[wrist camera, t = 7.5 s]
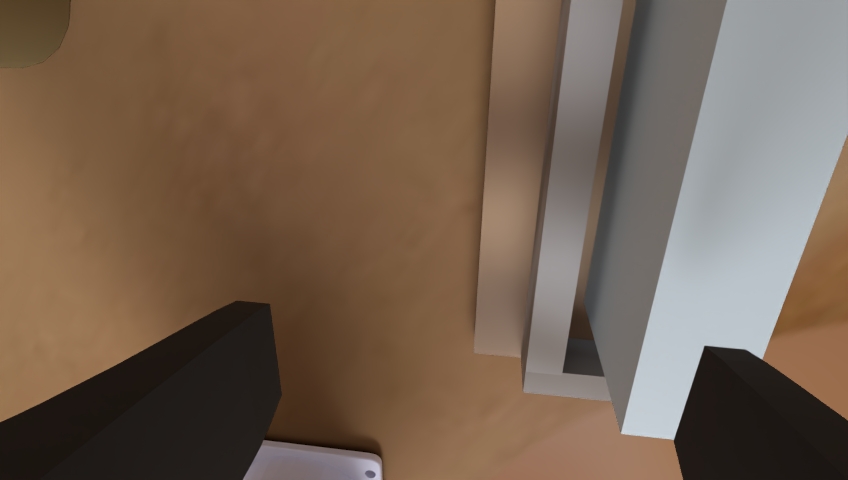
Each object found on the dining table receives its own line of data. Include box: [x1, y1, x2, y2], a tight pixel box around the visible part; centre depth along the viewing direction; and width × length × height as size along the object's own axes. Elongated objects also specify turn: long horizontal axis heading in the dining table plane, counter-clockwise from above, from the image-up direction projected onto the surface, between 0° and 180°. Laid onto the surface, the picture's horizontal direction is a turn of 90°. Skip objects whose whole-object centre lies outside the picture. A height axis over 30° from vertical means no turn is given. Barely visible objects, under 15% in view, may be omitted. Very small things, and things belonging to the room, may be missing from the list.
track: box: [474, 0, 636, 401], centre depth 15 cm, size 16×10×3 cm, turn 179°
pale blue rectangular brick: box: [584, 0, 848, 440], centre depth 12 cm, size 10×2×6 cm, turn 179°
